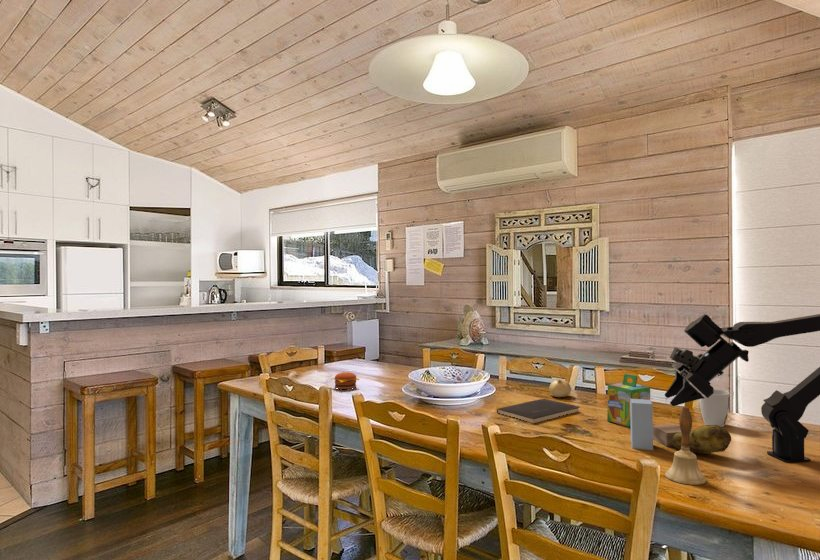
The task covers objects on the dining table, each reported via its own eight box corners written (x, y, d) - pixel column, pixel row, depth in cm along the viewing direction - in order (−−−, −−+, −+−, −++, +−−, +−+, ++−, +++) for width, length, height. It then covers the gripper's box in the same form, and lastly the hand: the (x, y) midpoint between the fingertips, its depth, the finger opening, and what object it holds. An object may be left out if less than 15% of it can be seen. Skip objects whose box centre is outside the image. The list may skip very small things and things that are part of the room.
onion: (545, 395, 202) (545, 376, 202) (565, 393, 203) (564, 375, 203) (555, 399, 194) (554, 380, 194) (575, 398, 195) (574, 379, 195)
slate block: (650, 444, 141) (650, 399, 141) (653, 450, 137) (652, 404, 137) (630, 442, 143) (630, 398, 143) (632, 448, 138) (631, 402, 138)
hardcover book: (579, 413, 176) (579, 406, 176) (533, 425, 163) (533, 418, 163) (542, 404, 189) (542, 398, 189) (496, 414, 176) (496, 408, 176)
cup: (734, 429, 153) (734, 395, 153) (704, 428, 155) (704, 394, 155) (724, 421, 161) (723, 389, 161) (695, 420, 163) (694, 388, 163)
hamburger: (342, 391, 214) (342, 375, 214) (330, 388, 221) (329, 372, 221) (361, 388, 220) (361, 372, 220) (349, 384, 227) (348, 369, 227)
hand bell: (692, 470, 122) (691, 402, 122) (715, 484, 114) (713, 411, 114) (657, 471, 122) (656, 403, 122) (677, 485, 113) (676, 412, 113)
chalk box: (606, 421, 164) (605, 374, 164) (625, 417, 168) (625, 371, 168) (632, 428, 156) (631, 379, 156) (651, 424, 160) (651, 375, 160)
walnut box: (691, 446, 140) (691, 431, 140) (666, 447, 139) (666, 432, 139) (675, 438, 147) (675, 424, 147) (651, 439, 146) (651, 425, 146)
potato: (689, 444, 140) (688, 415, 140) (737, 459, 129) (736, 427, 129) (668, 449, 137) (667, 419, 137) (715, 465, 125) (714, 431, 125)
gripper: (683, 333, 145) (640, 371, 148) (698, 341, 127) (648, 384, 130) (716, 363, 142) (671, 401, 146) (735, 375, 125) (684, 418, 128)
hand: (668, 400), depth 138 cm, fingers open, 9 cm apart
